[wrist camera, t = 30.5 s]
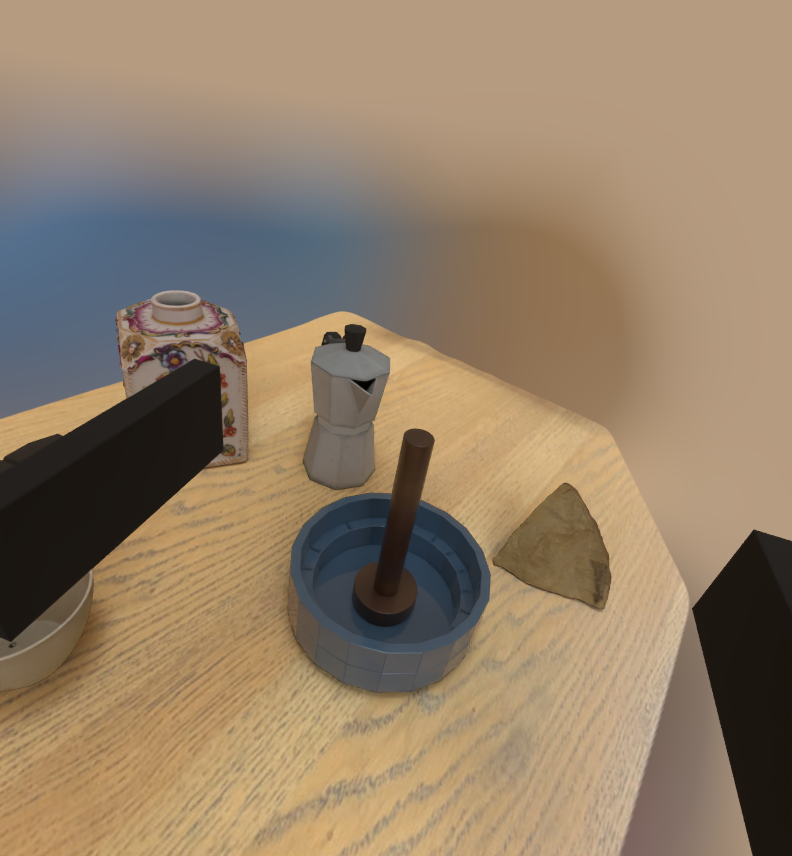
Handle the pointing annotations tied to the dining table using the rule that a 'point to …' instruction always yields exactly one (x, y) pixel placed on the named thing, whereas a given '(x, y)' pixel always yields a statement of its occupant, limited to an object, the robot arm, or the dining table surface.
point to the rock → (560, 549)
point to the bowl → (433, 610)
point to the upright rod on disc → (396, 540)
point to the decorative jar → (187, 355)
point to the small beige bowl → (47, 638)
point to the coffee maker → (345, 409)
